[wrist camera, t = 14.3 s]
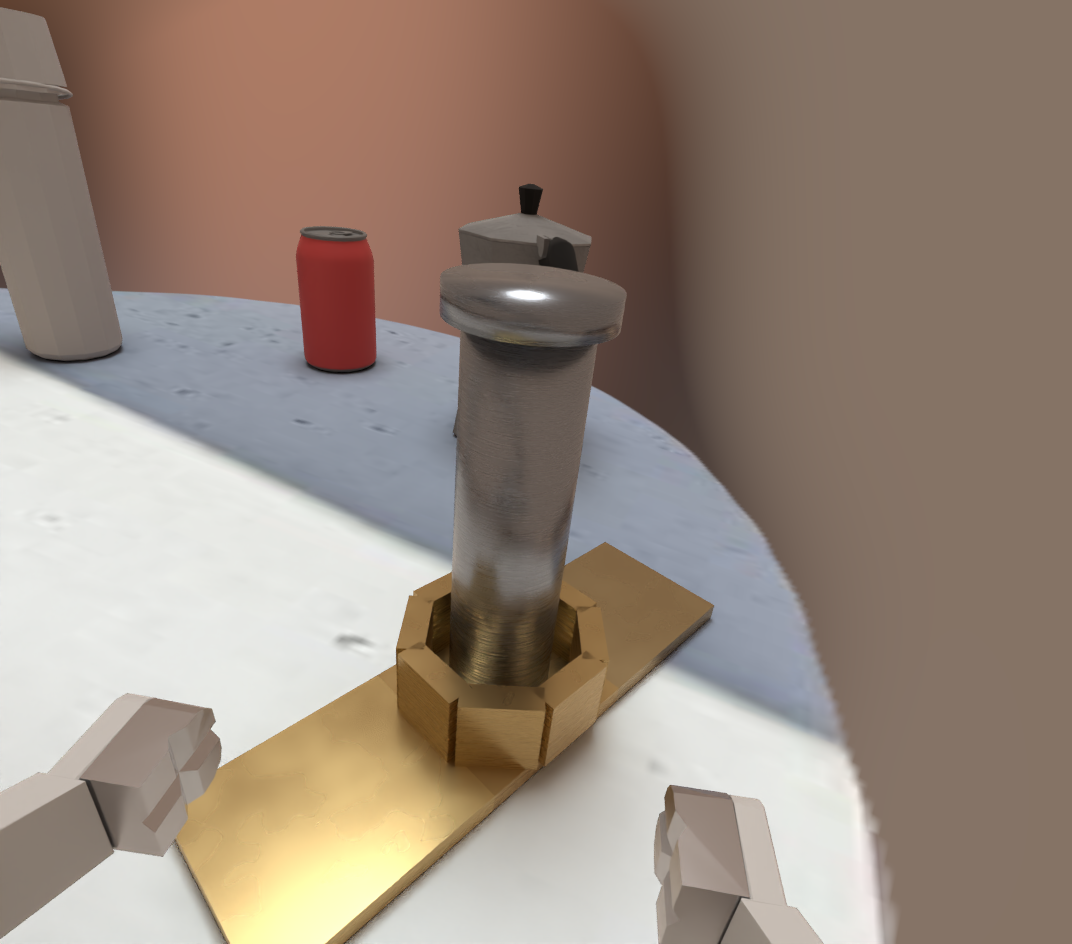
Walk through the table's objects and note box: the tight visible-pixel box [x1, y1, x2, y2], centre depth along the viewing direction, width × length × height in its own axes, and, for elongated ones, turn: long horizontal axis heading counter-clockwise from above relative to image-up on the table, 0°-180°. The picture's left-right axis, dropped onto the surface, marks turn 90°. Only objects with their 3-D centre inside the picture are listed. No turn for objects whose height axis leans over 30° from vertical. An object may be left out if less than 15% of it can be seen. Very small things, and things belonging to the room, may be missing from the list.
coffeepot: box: [453, 184, 591, 436], centre depth 43 cm, size 15×9×18 cm, turn 18°
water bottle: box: [0, 8, 122, 361], centre depth 50 cm, size 9×8×25 cm
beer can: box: [296, 226, 376, 372], centre depth 56 cm, size 7×7×12 cm
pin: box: [440, 263, 627, 687], centre depth 21 cm, size 5×5×16 cm
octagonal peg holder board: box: [175, 542, 714, 944], centre depth 24 cm, size 23×8×4 cm, turn 136°
